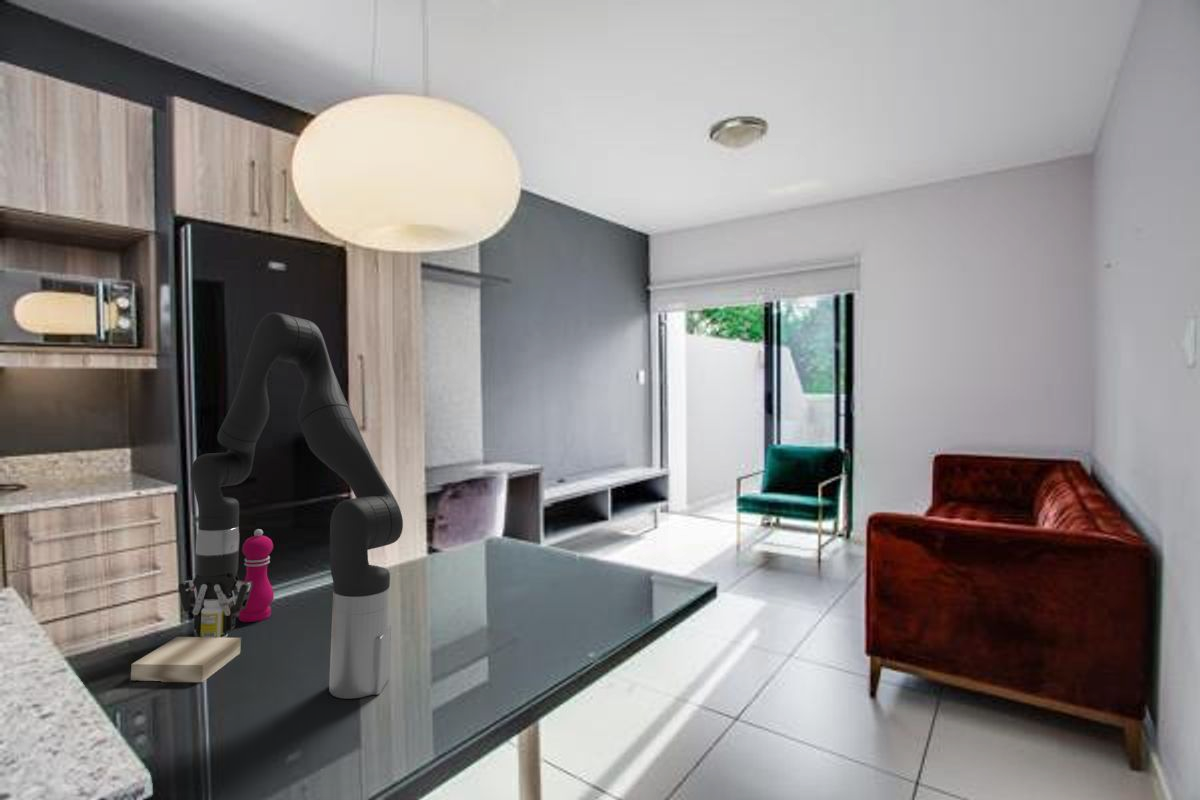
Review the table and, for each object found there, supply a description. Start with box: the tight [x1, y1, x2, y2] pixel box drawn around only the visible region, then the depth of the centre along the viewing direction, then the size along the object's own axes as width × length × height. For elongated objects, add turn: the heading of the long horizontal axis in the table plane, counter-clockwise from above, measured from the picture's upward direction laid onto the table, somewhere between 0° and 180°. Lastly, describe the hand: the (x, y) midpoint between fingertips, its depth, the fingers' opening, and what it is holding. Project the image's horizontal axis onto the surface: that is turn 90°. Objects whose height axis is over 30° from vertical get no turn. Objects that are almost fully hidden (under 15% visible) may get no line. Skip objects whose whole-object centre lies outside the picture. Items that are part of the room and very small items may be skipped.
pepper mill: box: [238, 528, 275, 623], centre depth 133 cm, size 7×7×20 cm
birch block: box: [130, 636, 242, 683], centre depth 108 cm, size 12×12×3 cm
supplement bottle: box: [199, 597, 229, 638], centre depth 121 cm, size 5×5×8 cm
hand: (214, 631), depth 121 cm, fingers closed on supplement bottle, 4 cm apart
